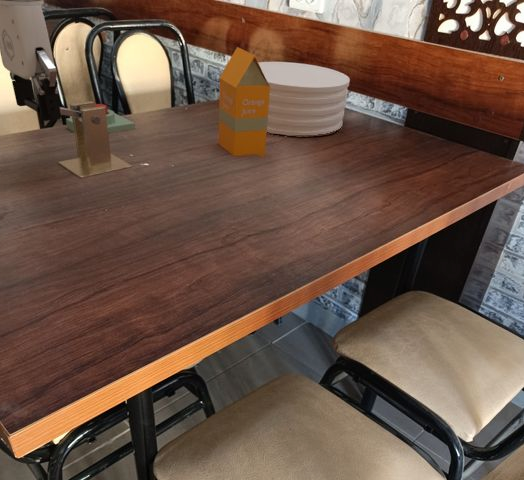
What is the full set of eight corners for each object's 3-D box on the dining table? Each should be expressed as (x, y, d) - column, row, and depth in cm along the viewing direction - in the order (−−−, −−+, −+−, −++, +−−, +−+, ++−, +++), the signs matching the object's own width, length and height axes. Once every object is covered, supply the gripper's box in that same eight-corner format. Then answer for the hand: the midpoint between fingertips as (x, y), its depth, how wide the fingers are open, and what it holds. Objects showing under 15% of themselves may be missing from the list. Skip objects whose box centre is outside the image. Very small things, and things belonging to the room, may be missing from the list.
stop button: (96, 117, 114) (95, 109, 113) (88, 113, 116) (87, 105, 115) (110, 115, 116) (109, 107, 115) (102, 111, 118) (101, 103, 117)
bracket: (81, 183, 94) (70, 116, 87) (59, 168, 99) (47, 103, 92) (132, 171, 100) (127, 108, 93) (109, 157, 105) (102, 96, 98)
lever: (36, 116, 85) (37, 100, 84) (23, 108, 88) (24, 93, 86) (101, 127, 94) (103, 114, 93) (88, 120, 96) (89, 107, 95)
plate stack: (362, 126, 137) (371, 79, 130) (294, 144, 121) (300, 92, 113) (286, 101, 151) (290, 58, 144) (216, 115, 135) (217, 67, 128)
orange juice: (248, 144, 118) (253, 46, 106) (265, 157, 112) (273, 55, 100) (217, 147, 115) (219, 46, 103) (233, 160, 109) (237, 55, 97)
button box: (88, 140, 112) (86, 122, 110) (67, 128, 117) (64, 110, 115) (135, 132, 119) (134, 114, 116) (113, 121, 124) (111, 103, 122)
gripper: (-32, -17, 79) (-4, 102, 90) (14, -1, 70) (40, 129, 80) (16, -16, 83) (37, 97, 94) (66, -2, 74) (83, 122, 85)
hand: (38, 112), depth 87 cm, fingers open, 9 cm apart
